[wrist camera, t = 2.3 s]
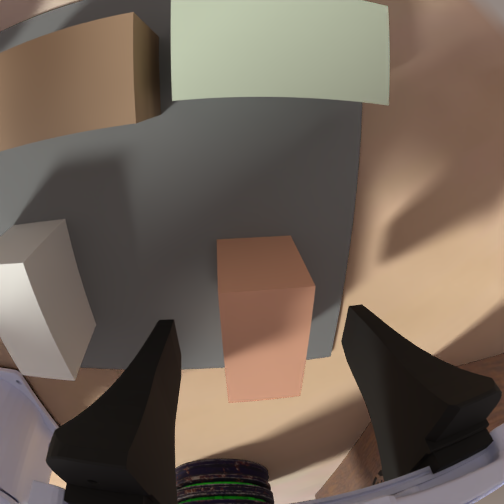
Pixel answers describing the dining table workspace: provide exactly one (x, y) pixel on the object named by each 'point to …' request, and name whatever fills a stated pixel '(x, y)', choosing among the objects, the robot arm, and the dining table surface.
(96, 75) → the walnut brick
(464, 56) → the dining table surface
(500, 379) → the tissue box cover
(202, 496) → the storage jar
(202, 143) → the felt mat
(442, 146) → the dining table surface
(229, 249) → the terracotta brick
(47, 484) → the robot arm
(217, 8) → the sage brick
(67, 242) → the pale grey brick
